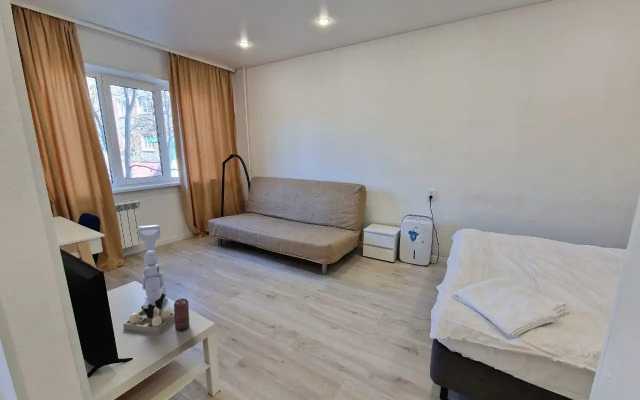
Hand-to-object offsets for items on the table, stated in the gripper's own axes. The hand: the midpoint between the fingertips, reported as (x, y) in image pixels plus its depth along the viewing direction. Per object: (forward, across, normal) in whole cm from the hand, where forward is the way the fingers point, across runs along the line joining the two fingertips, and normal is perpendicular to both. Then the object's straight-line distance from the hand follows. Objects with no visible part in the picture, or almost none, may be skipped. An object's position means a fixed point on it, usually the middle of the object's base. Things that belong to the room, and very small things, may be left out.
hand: (154, 313), depth 135 cm
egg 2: (+3, 0, 0) cm, 3 cm away
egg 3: (+3, +7, +5) cm, 9 cm away
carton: (+4, +3, 0) cm, 5 cm away
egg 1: (+3, +5, -7) cm, 9 cm away
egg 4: (+3, +1, +6) cm, 6 cm away
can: (+4, +6, +16) cm, 18 cm away
